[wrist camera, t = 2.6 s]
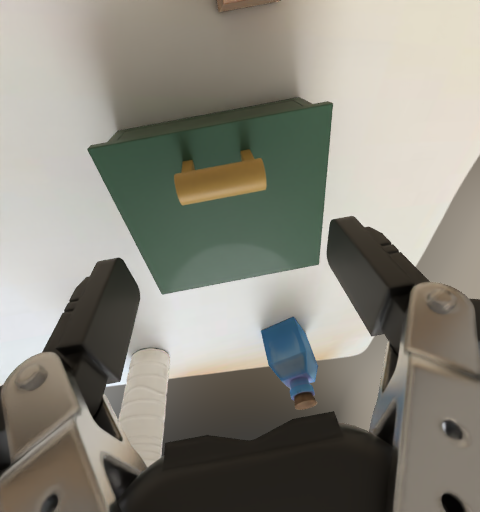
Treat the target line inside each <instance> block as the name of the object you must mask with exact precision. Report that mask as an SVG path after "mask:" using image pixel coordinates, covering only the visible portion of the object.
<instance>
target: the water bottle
mask: <svg viewBox="0 0 480 512" xmlns="http://www.w3.org/2000/svg"><path fill="white" fill-rule="evenodd" d="M169 366H170V356H169V354H168V353H166V352H165V351H163V350H160V349H157V350H156V349H154V348H148V349H145V350H144V349H142V350H139V351H137V352H136V353H135V354H133V356H132V358H131V363H130V367H129V373H128V377H127V384H126V387H125V391H124V397H123V399H124V400H123V402H122V405H121V411H120V415H119V420H118V421H119V423H120V425H121V427H122V429H123V431H124V433H125V434H126V436H127V438H128V440H129V442H130V444H131V445H132V447H133V448H134V449H135V451H136V452H137V453H138V454H139V455H140V457H141V458H142V460H143V461H144V463H145V464H146V466H147V467H149V466H150V465H151V464H152V463H154V462H155V461H157V460H158V459H160V458H161V454H162V451H161V449H162V441H163V433H164V420H165V407H166V399H167V397H166V394H167V383H168V376H169V373H168V372H169Z"/></svg>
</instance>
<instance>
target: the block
mask: <svg viewBox="0 0 480 512" xmlns="http://www.w3.org/2000/svg"><path fill="white" fill-rule="evenodd" d="M279 1H281V0H217V6H218V12H224V11H229V10H235V9H241V8H246V7H252V6H257V5H263V4H268V3H274V2H279Z"/></svg>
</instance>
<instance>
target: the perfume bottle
mask: <svg viewBox="0 0 480 512" xmlns="http://www.w3.org/2000/svg"><path fill="white" fill-rule="evenodd" d="M261 333H262V338H263V342H264V346H265V351H266V355H267V360H268V364H269V366H270V367H271V368H272V370H273V371H274V372H275V373H276V375H277V376H278V377H279V378H280V380H281V381H282V382H283V383H284V384H285V385H287V386H288V387H289V388H290V389H291V390H290V394H291V398H292V400H294V401H295V408H296V409H299V410H303V409H308V408H311V407H313V406H315V405H316V403H317V402H316V400H315V398H314V397H313V396H314V394H315V393H314V390H313V387H312V385H310V384H309V383H312V382H315V379H316V373H317V368H318V365H317V362H316V360H315V357H314V354H313V352H312V349H311V346H310V344H309V341H308V339H307V336H306V333H305V332H304V331H303V329H302V328H301V326H300V325H299V324H298V322H297V321H296V319H295V318H294V317H292V318H290V319H287V320H285V321H283V322H280V323H278V324H276V325H273V326H271V327H269V328H266V329H264V330H262V331H261Z"/></svg>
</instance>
